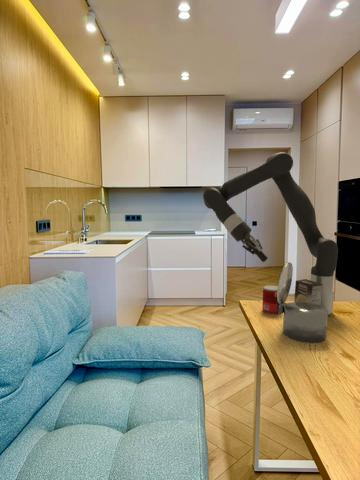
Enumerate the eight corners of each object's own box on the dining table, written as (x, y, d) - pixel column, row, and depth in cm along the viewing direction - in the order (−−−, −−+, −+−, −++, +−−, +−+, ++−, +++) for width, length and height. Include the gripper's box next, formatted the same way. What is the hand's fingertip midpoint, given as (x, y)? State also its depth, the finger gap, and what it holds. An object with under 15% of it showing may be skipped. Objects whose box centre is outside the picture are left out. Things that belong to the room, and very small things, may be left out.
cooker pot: (273, 335, 120) (274, 309, 119) (284, 323, 132) (285, 299, 131) (322, 346, 111) (324, 318, 110) (329, 332, 123) (330, 306, 122)
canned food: (281, 315, 142) (282, 290, 141) (262, 313, 143) (263, 289, 142) (279, 309, 149) (281, 286, 148) (261, 308, 151) (262, 284, 150)
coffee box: (292, 316, 140) (294, 280, 138) (303, 314, 143) (305, 278, 141) (309, 324, 132) (311, 285, 130) (320, 321, 135) (323, 283, 133)
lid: (277, 309, 118) (269, 307, 119) (289, 298, 131) (282, 296, 132) (283, 266, 115) (275, 264, 116) (294, 259, 128) (287, 258, 130)
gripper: (236, 221, 125) (267, 256, 119) (249, 220, 136) (277, 252, 130) (223, 234, 128) (252, 269, 123) (237, 232, 139) (264, 263, 134)
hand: (265, 260), depth 127 cm, fingers closed
